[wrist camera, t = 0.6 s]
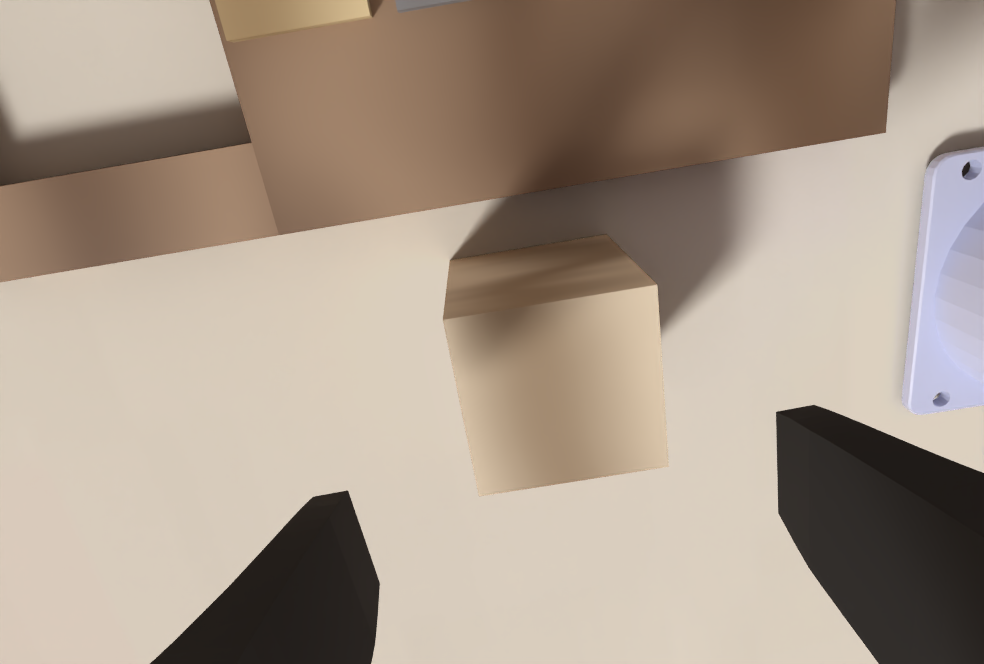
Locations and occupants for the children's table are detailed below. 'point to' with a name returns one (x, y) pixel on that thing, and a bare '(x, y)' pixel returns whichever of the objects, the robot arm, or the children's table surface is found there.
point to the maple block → (556, 364)
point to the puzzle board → (464, 113)
